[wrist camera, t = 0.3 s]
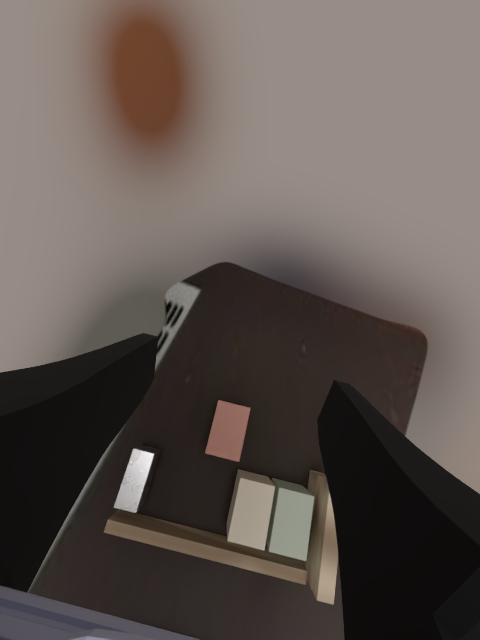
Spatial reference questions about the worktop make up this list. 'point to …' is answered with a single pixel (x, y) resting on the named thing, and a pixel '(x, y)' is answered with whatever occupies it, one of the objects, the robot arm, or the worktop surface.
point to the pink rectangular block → (228, 431)
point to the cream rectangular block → (250, 510)
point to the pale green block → (290, 520)
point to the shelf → (217, 548)
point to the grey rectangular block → (137, 478)
